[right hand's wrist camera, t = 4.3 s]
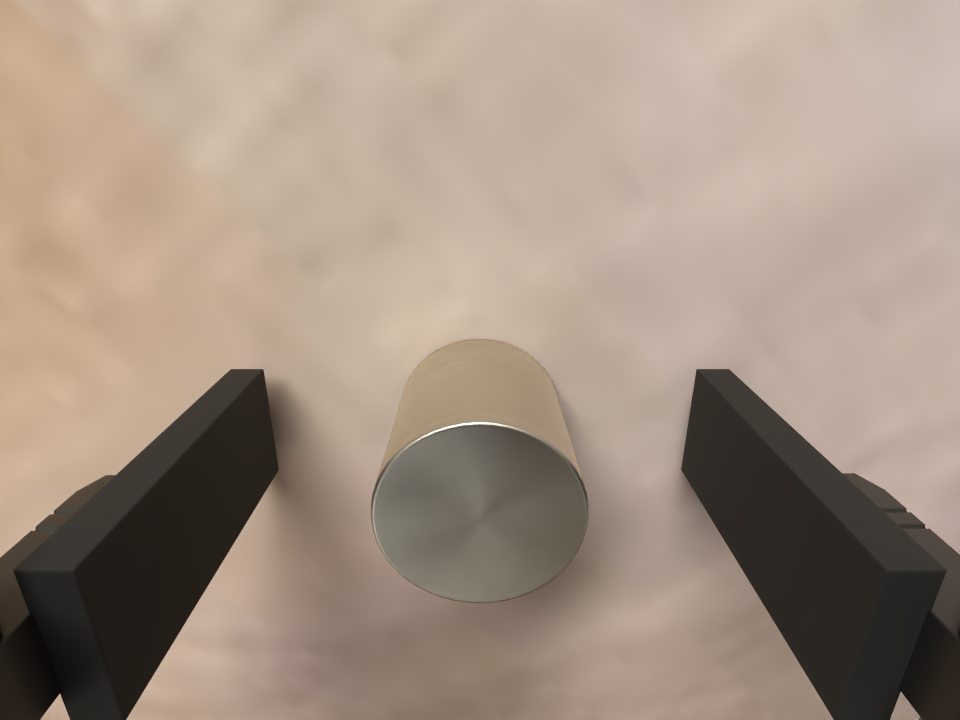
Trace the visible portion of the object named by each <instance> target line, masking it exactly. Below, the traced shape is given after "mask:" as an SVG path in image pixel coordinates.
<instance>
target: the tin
mask: <svg viewBox="0 0 960 720" xmlns="http://www.w3.org/2000/svg"><path fill="white" fill-rule="evenodd" d="M588 518H589V505H588V498H587V493H586V489H585V486H584V483H583V479H582V476H581V473H580V470H579V466H578V463H577V460H576V456H575V453H574V450H573V446H572V443H571V440H570V437H569V433H568V430H567V427H566V423H565V420H564V417H563V413H562V410H561V407H560V404H559V400H558V397H557V394H556V391H555V388H554V385H553V383H552V381H551V379H550V377H549V375H548V374H547V373H546V371H545V370H544V368H543V367H542V366H541V365H540V364H539V363H538V362H537V361H536V360H535V359H534V358H532V357H531V356H530V355H529V354H527V353H525V352H524V351H522V350H521V349H518V348H516V347H514V346H512V345H509V344H506V343H503V342H499V341H494V340H483V339H476V340H466V341H461V342H457V343H453V344H450V345H447V346H445V347H443V348H441V349H439V350H437V351H436V352H434V353H433V354H431V355H429V356H428V357H427V358H426V359H425V360H424V361H422V362H421V363H420V365H419V366H418V367H417V368H416V369H415V370H414V372H413V373H412V375H411V376H410V378H409V380H408V382H407V384H406V386H405V389H404V392H403V396H402V399H401V402H400V405H399V409H398V412H397V415H396V419H395V422H394V425H393V428H392V432H391V435H390V438H389V442H388V445H387V448H386V452H385V455H384V458H383V461H382V465H381V468H380V471H379V475H378V478H377V481H376V485H375V488H374V491H373V495H372V501H371V521H372V527H373V531H374V534H375V537H376V540H377V543H378V545H379V547H380V549H381V551H382V553H383V554H384V556H385V557H386V559H387V560H388V562H389V563H390V564H391V565H392V566H393V567H394V568H395V569H396V571H397V572H398V573H400V574H401V575H402V576H403V577H404V578H406V579H407V580H408V581H410V582H411V583H413V584H414V585H416V586H417V587H419V588H421V589H423V590H425V591H427V592H429V593H432V594H434V595H437V596H440V597H443V598H446V599H450V600H454V601H461V602H470V603H490V602H498V601H505V600H509V599H513V598H517V597H520V596H523V595H525V594H528V593H531V592H533V591H535V590H536V589H538V588H540V587H542V586H544V585H545V584H547V583H548V582H550V581H551V580H553V579H554V578H555V577H556V576H558V575H559V574H560V573H561V572H562V571H563V570H564V569H565V568H566V567H567V566H568V565H569V563H570V562H571V561H572V559H573V558H574V556H575V555H576V554H577V552H578V550H579V548H580V546H581V544H582V542H583V539H584V536H585V533H586V530H587V524H588Z"/></svg>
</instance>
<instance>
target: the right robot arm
mask: <svg viewBox="0 0 960 720" xmlns="http://www.w3.org/2000/svg"><path fill="white" fill-rule="evenodd" d="M278 470H279V469H278V462H277V456H276V449H275V442H274V436H273V429H272V423H271V416H270V410H269V403H268V397H267V390H266V384H265V377H264V370H263V369H231V370H230V371H229V372H228V373H226V374H225V375H224V376H223V377H222V378H221V379H220V380H219V381H218V382H217V383H216V384H215V385H213V386H212V387H211V388H210V389H209V390H208V391H207V392H206V393H205V394H204V395H203V396H201V397H200V398H199V399H198V400H197V401H196V402H195V403H194V404H193V405H192V406H191V407H190V408H188V409H187V410H186V411H185V412H184V413H183V414H182V415H181V416H180V417H179V418H178V419H177V420H175V421H174V422H173V423H172V424H171V425H170V426H169V427H168V428H167V429H166V430H165V431H163V432H162V433H161V434H160V435H159V436H158V437H157V438H156V439H155V440H154V441H153V442H152V443H150V444H149V445H148V446H147V447H146V448H145V449H144V450H143V451H142V452H141V453H140V454H139V455H137V456H136V457H135V458H134V459H133V460H132V461H131V462H130V463H129V464H128V465H127V466H125V467H124V468H123V469H122V470H121V471H120V472H119V473H118V474H117V475H106V476H104V477H102V478H100V479H99V480H97V481H95V482H93V483H91V484H89V485H88V486H86V487H84V488H82V489H80V490H78V491H77V492H75V493H74V494H73V495H72V496H71V497H70V498H68V499H67V500H66V501H65V502H64V503H63V504H62V505H60V506H59V507H58V508H57V509H56V510H55V511H54V515H49V516H48V517H47V518H45V519H44V520H43V521H42V522H41V523H40V524H39V525H37V526H36V530H35V531H31V532H29V533H28V534H27V535H26V536H25V537H24V538H22V539H21V540H20V541H19V542H18V543H17V544H16V545H14V546H13V547H12V548H11V549H10V550H9V551H8V552H6V553H5V554H4V555H3V556H2V557H1V558H0V720H41V717H42V716H43V715H44V713H45V712H46V711H47V710H48V708H49V707H50V706H51V704H52V703H53V702H54V700H55V699H56V698H57V696H58V695H59V694H61V697H62V699H63V702H64V705H65V707H66V710H67V712H68V715H69V718H70V720H126V719H127V717H128V716H129V714H130V712H131V711H132V709H133V707H134V706H135V704H136V702H137V701H138V699H139V698H140V696H141V694H142V693H143V691H144V689H145V688H146V686H147V684H148V683H149V681H150V680H151V678H152V676H153V675H154V673H155V671H156V670H157V668H158V666H159V665H160V663H161V662H162V660H163V658H164V657H165V655H166V653H167V652H168V650H169V648H170V647H171V645H172V644H173V642H174V640H175V639H176V637H177V635H178V634H179V632H180V630H181V629H182V627H183V626H184V624H185V622H186V621H187V619H188V617H189V616H190V614H191V612H192V611H193V609H194V608H195V606H196V604H197V603H198V601H199V599H200V598H201V596H202V594H203V593H204V591H205V589H206V588H207V586H208V585H209V583H210V581H211V580H212V578H213V576H214V575H215V573H216V571H217V570H218V568H219V567H220V565H221V563H222V562H223V560H224V558H225V557H226V555H227V553H228V552H229V550H230V549H231V547H232V545H233V544H234V542H235V540H236V539H237V537H238V535H239V534H240V532H241V531H242V529H243V527H244V526H245V524H246V522H247V521H248V519H249V517H250V516H251V514H252V513H253V511H254V509H255V508H256V506H257V504H258V503H259V501H260V499H261V498H262V496H263V495H264V493H265V491H266V490H267V488H268V486H269V485H270V483H271V481H272V480H273V478H274V476H275V475H276V473H277V472H278ZM681 470H682V472H683V473H684V475H685V477H686V478H687V480H688V481H689V483H690V485H691V486H692V488H693V490H694V491H695V493H696V495H697V496H698V498H699V499H700V501H701V503H702V504H703V506H704V508H705V509H706V511H707V513H708V514H709V516H710V517H711V519H712V521H713V522H714V524H715V526H716V527H717V529H718V531H719V532H720V534H721V535H722V537H723V539H724V540H725V542H726V544H727V545H728V547H729V549H730V550H731V552H732V553H733V555H734V557H735V558H736V560H737V562H738V563H739V565H740V567H741V568H742V570H743V572H744V573H745V575H746V576H747V578H748V580H749V581H750V583H751V585H752V586H753V588H754V590H755V591H756V593H757V594H758V596H759V598H760V599H761V601H762V603H763V604H764V606H765V608H766V609H767V611H768V612H769V614H770V616H771V617H772V619H773V621H774V622H775V624H776V626H777V627H778V629H779V630H780V632H781V634H782V635H783V637H784V639H785V640H786V642H787V644H788V645H789V647H790V648H791V650H792V652H793V653H794V655H795V657H796V658H797V660H798V662H799V663H800V665H801V666H802V668H803V670H804V671H805V673H806V675H807V676H808V678H809V680H810V681H811V683H812V684H813V686H814V688H815V689H816V691H817V693H818V694H819V696H820V698H821V699H822V701H823V703H824V704H825V706H826V707H827V709H828V711H829V712H830V714H831V716H832V717H833V719H834V720H890V718H891V715H892V712H893V710H894V707H895V704H896V702H897V699H898V697H899V694H900V691H901V692H902V693H903V694H904V696H905V697H906V698H907V700H908V701H909V702H910V704H911V705H912V706H913V708H914V709H915V710H916V712H917V713H918V714H919V715H920V719H919V720H960V555H959V554H958V553H957V552H956V551H955V550H954V549H952V548H951V547H950V546H949V545H948V544H947V543H945V542H944V541H943V540H942V539H941V538H940V537H938V536H937V535H936V534H935V533H934V532H933V531H932V530H930V529H926V528H925V524H923V523H922V522H921V521H920V520H919V519H918V518H917V517H915V516H914V515H913V514H912V513H907V511H906V508H905V507H904V506H903V505H901V504H900V503H899V502H898V501H897V500H896V499H895V498H893V497H892V496H891V495H890V494H889V493H888V492H886V491H885V490H884V489H882V488H880V487H878V486H877V485H875V484H873V483H871V482H869V481H867V480H866V479H864V478H862V477H860V476H858V475H856V474H842V473H841V472H840V471H839V470H838V469H837V468H836V467H835V466H833V465H832V464H831V463H830V462H829V461H828V460H827V459H826V458H825V457H824V456H823V455H821V454H820V453H819V452H818V451H817V450H816V449H815V448H814V447H813V446H812V445H811V444H810V443H808V442H807V441H806V440H805V439H804V438H803V437H802V436H801V435H800V434H799V433H798V432H797V431H795V430H794V429H793V428H792V427H791V426H790V425H789V424H788V423H787V422H786V421H785V420H783V419H782V418H781V417H780V416H779V415H778V414H777V413H776V412H775V411H774V410H773V409H772V408H770V407H769V406H768V405H767V404H766V403H765V402H764V401H763V400H762V399H761V398H760V397H759V396H757V395H756V394H755V393H754V392H753V391H752V390H751V389H750V388H749V387H748V386H747V385H745V384H744V383H743V382H742V381H741V380H740V379H739V378H738V377H737V376H736V375H735V374H734V373H732V372H731V371H730V370H729V369H697V370H696V377H695V383H694V390H693V397H692V403H691V410H690V416H689V423H688V429H687V436H686V442H685V449H684V455H683V462H682V469H681Z"/></svg>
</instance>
